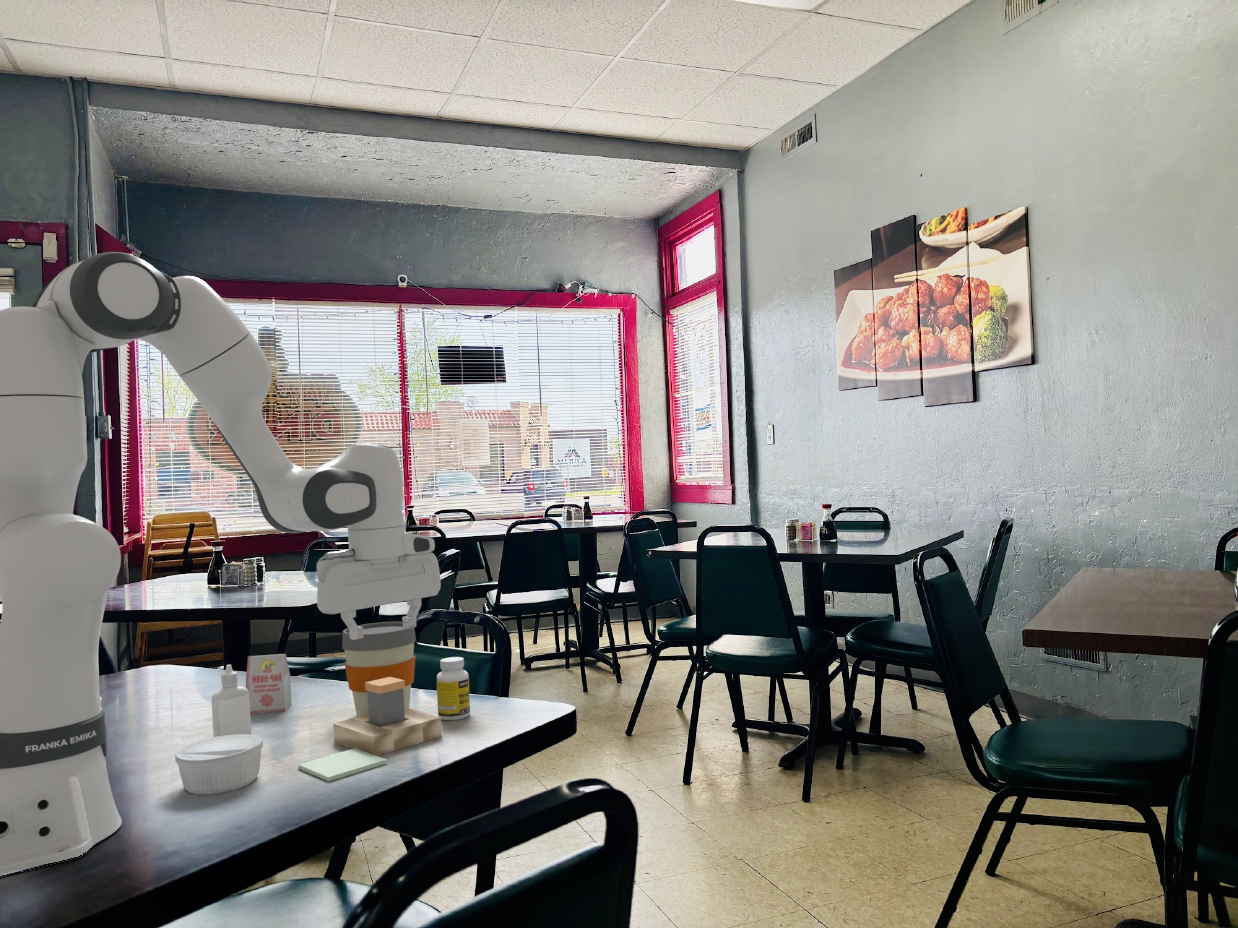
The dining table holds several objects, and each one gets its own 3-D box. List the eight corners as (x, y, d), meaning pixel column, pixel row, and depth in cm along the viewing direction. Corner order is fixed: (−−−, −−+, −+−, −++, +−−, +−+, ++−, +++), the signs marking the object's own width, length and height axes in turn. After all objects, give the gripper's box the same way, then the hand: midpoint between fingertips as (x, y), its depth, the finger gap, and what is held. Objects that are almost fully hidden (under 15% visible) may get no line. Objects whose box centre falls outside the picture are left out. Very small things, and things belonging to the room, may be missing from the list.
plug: (383, 745, 138) (379, 686, 138) (368, 740, 141) (365, 682, 141) (407, 738, 141) (404, 680, 141) (392, 733, 144) (389, 676, 144)
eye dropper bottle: (250, 739, 145) (246, 665, 145) (212, 744, 144) (208, 669, 144) (252, 732, 150) (248, 660, 150) (215, 737, 148) (211, 664, 148)
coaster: (328, 781, 123) (328, 777, 123) (298, 768, 129) (298, 764, 129) (386, 763, 129) (386, 759, 129) (355, 751, 135) (355, 747, 135)
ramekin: (181, 805, 117) (179, 764, 117) (172, 782, 126) (170, 744, 126) (272, 784, 123) (270, 746, 123) (256, 764, 132) (255, 728, 132)
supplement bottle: (463, 721, 149) (460, 662, 149) (433, 721, 150) (430, 662, 150) (475, 712, 155) (472, 655, 155) (445, 712, 156) (442, 655, 156)
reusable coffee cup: (430, 703, 162) (426, 620, 162) (402, 723, 150) (397, 633, 150) (366, 703, 165) (361, 622, 165) (332, 723, 152) (327, 635, 152)
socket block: (373, 756, 133) (372, 736, 133) (334, 742, 141) (333, 723, 141) (441, 736, 141) (440, 717, 141) (400, 723, 150) (399, 705, 150)
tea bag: (254, 708, 166) (251, 654, 166) (291, 705, 166) (288, 651, 166) (247, 713, 162) (244, 658, 162) (285, 711, 163) (282, 656, 163)
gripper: (326, 554, 132) (332, 648, 132) (443, 539, 146) (448, 623, 146) (306, 553, 136) (312, 643, 136) (421, 538, 151) (427, 620, 151)
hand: (383, 633), depth 141 cm, fingers open, 8 cm apart
